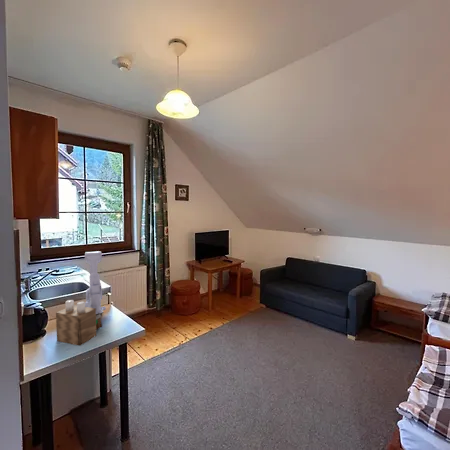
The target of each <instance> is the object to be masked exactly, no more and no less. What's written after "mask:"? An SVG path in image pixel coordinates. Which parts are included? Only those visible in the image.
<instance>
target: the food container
mask: <svg viewBox="0 0 450 450" xmlns="http://www.w3.org/2000/svg"><path fill="white" fill-rule="evenodd" d="M101 317H102V316H101V314H96V331H98V330H100V328H102V327H103V326H102V318H101Z"/></svg>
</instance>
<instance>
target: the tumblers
mask: <svg viewBox="0 0 450 450" xmlns="http://www.w3.org/2000/svg"><path fill="white" fill-rule="evenodd" d="M74 302H75V301H74V299H67V300H66V301H65V308H66V311H72V310H74V305H75V303H74ZM85 303H86V301H79V302H76V305H77V313H84V312H85Z"/></svg>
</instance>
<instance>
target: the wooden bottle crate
mask: <svg viewBox="0 0 450 450" xmlns="http://www.w3.org/2000/svg"><path fill="white" fill-rule="evenodd" d="M55 326H56V342H60V343H65V344H68V345H73V346H77V347H78V346H79V347H81V346H82V345H84V344H86V343H87V342H89V341H90V340H92V339H93V338H96V336H97V330H96V308H89V307H85V312H84V313H77V304H74V310H72V311H66V307H65V308H63V309H60V310H59V311H56V313H55Z"/></svg>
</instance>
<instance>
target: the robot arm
mask: <svg viewBox="0 0 450 450" xmlns="http://www.w3.org/2000/svg"><path fill="white" fill-rule="evenodd" d="M102 258H103V257H102V251H99V250H98V251H85V253H84V262H85V263H86V264H88V265H89V287H88V288H87V289H86V291H85V307H89V308H96V314H101V317H102V315H103V314H102V313H104V311H106V310H107V307H106V306H102V300H103V292H102V284H101V283H102V282H101V277H100V276H101V275H100V274H99V273H98V265H99V263H101V262H102Z"/></svg>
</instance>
